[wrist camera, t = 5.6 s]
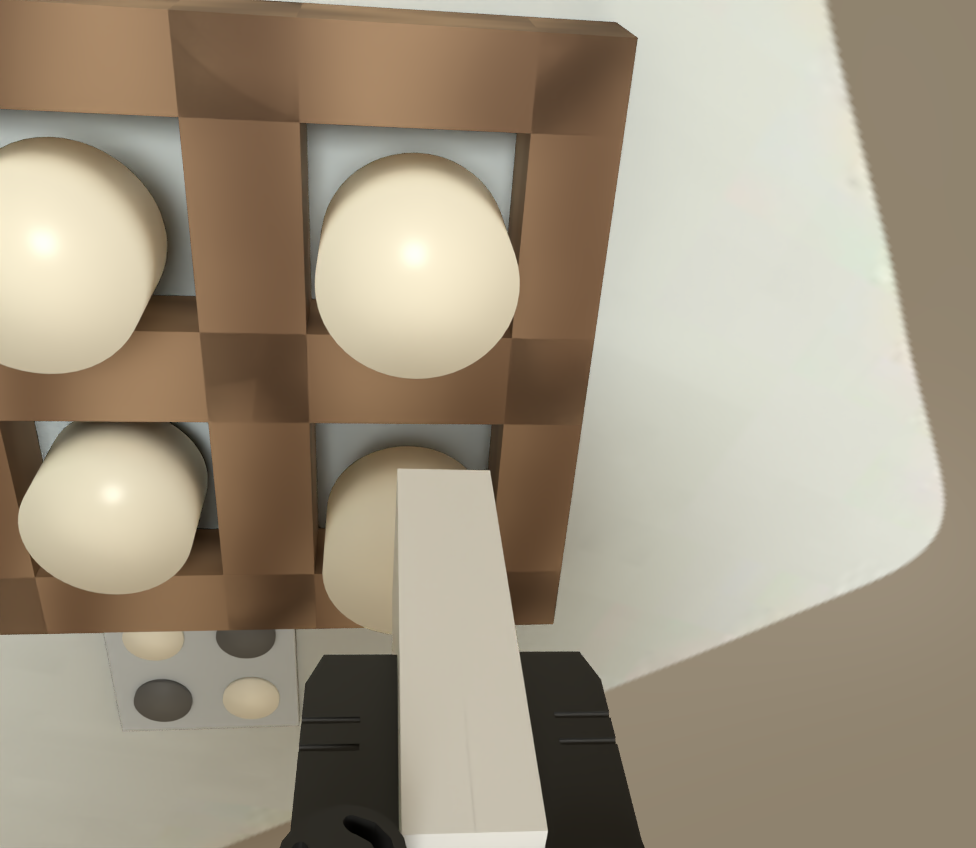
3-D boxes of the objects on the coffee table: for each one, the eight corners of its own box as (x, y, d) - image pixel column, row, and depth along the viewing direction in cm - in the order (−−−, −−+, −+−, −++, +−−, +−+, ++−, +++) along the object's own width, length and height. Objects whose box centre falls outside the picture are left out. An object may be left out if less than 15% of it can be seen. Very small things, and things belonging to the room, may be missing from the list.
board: (-5, 585, 34) (-30, 635, 32) (-166, -27, 23) (-221, -14, 21) (542, 578, 36) (553, 623, 34) (615, 22, 26) (637, 38, 24)
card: (124, 725, 38) (121, 735, 38) (99, 594, 34) (95, 604, 34) (299, 719, 39) (298, 729, 38) (293, 591, 35) (292, 601, 35)
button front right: (323, 326, 26) (317, 377, 24) (318, 148, 24) (311, 184, 21) (498, 329, 27) (510, 380, 24) (512, 156, 24) (528, 192, 22)
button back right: (328, 572, 31) (324, 637, 28) (325, 445, 28) (320, 504, 26) (477, 570, 32) (487, 633, 29) (488, 446, 29) (499, 503, 27)
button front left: (-15, 319, 25) (-59, 372, 23) (-58, 132, 23) (-113, 167, 20) (176, 323, 26) (154, 375, 23) (155, 141, 23) (128, 177, 21)
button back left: (61, 535, 32) (34, 595, 29) (35, 408, 29) (2, 462, 27) (213, 534, 32) (199, 593, 30) (200, 409, 30) (184, 462, 27)
